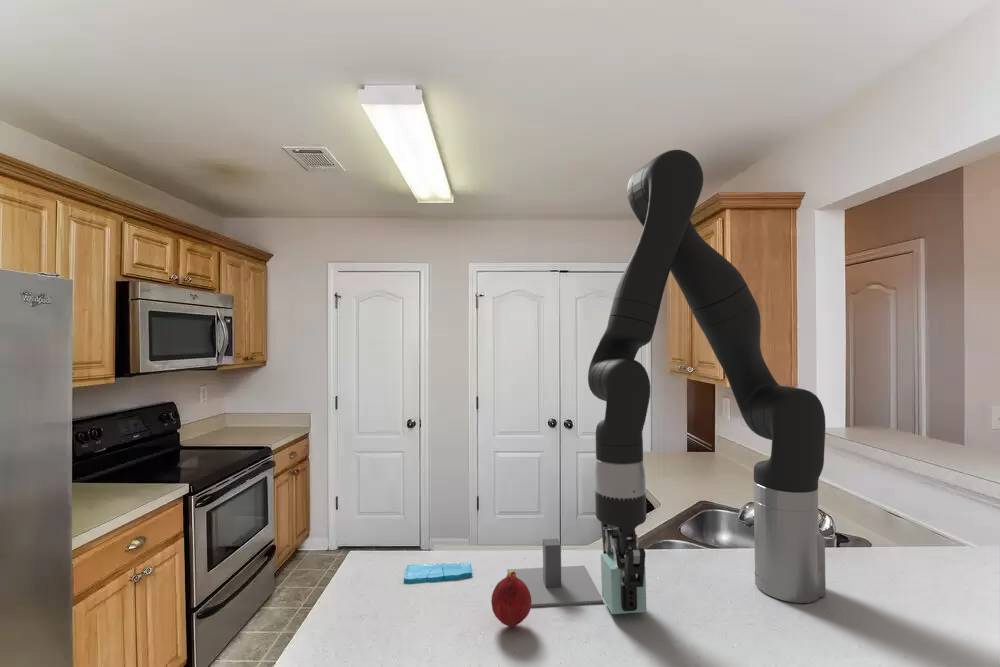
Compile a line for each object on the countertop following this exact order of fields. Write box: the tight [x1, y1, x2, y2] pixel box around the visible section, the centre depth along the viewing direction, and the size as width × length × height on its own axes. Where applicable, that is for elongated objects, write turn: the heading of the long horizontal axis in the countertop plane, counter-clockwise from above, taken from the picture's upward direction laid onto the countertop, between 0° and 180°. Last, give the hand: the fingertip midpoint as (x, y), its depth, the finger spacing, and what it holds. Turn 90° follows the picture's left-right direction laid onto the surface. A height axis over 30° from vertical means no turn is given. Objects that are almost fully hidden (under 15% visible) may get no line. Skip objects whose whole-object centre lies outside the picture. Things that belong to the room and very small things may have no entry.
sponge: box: [403, 562, 473, 585], centre depth 89 cm, size 2×12×6 cm
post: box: [542, 538, 562, 588], centre depth 85 cm, size 3×3×7 cm
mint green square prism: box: [600, 553, 647, 615], centre depth 77 cm, size 5×5×7 cm
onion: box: [490, 570, 532, 628], centre depth 73 cm, size 6×6×8 cm
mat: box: [506, 565, 604, 608], centre depth 85 cm, size 14×12×1 cm
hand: (622, 599), depth 77 cm, fingers closed on mint green square prism, 5 cm apart
